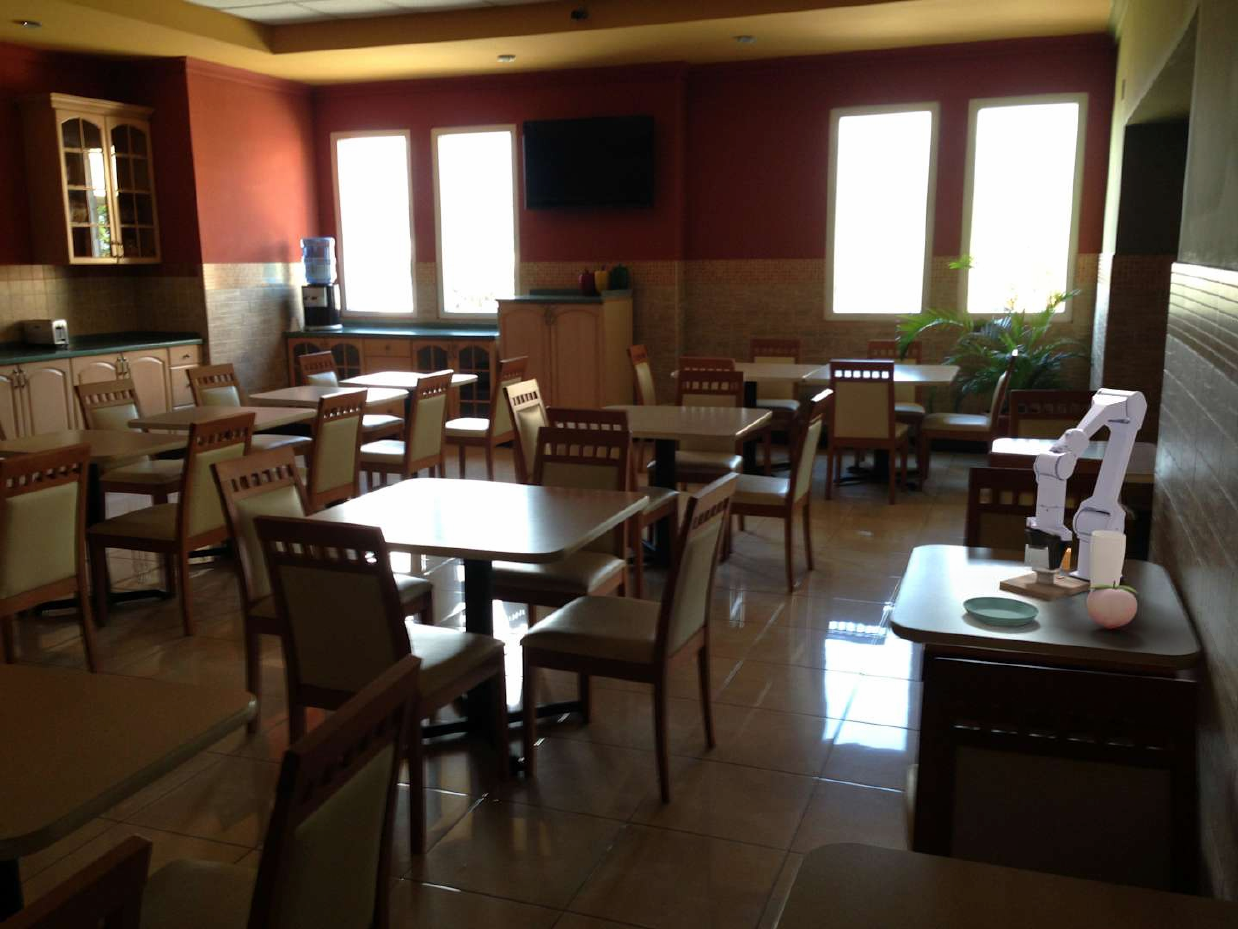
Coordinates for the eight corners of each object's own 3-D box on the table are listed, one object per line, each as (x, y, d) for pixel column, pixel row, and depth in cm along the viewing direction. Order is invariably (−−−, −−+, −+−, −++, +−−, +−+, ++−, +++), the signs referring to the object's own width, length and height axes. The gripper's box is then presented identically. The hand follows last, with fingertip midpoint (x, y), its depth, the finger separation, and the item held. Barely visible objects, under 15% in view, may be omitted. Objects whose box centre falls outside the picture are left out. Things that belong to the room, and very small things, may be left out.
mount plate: (1041, 576, 242) (1042, 560, 241) (1089, 589, 232) (1090, 572, 232) (999, 588, 233) (1000, 570, 233) (1047, 601, 223) (1048, 583, 223)
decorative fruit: (1095, 636, 202) (1099, 586, 200) (1078, 622, 210) (1082, 575, 208) (1144, 637, 201) (1149, 587, 199) (1126, 623, 209) (1130, 575, 208)
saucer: (1041, 614, 216) (1042, 601, 216) (1034, 635, 203) (1035, 622, 202) (967, 604, 222) (968, 592, 222) (957, 624, 209) (957, 611, 209)
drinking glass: (1080, 601, 224) (1086, 533, 221) (1092, 594, 229) (1098, 528, 226) (1113, 608, 219) (1119, 539, 216) (1124, 601, 224) (1131, 534, 221)
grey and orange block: (1024, 565, 237) (1026, 543, 236) (1068, 569, 233) (1070, 547, 232) (1023, 571, 231) (1025, 549, 230) (1068, 576, 227) (1070, 553, 227)
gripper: (1016, 499, 236) (1012, 556, 238) (1053, 512, 222) (1048, 573, 224) (1044, 498, 237) (1040, 555, 239) (1082, 511, 223) (1077, 572, 225)
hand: (1045, 564), depth 232 cm, fingers closed on grey and orange block, 6 cm apart
